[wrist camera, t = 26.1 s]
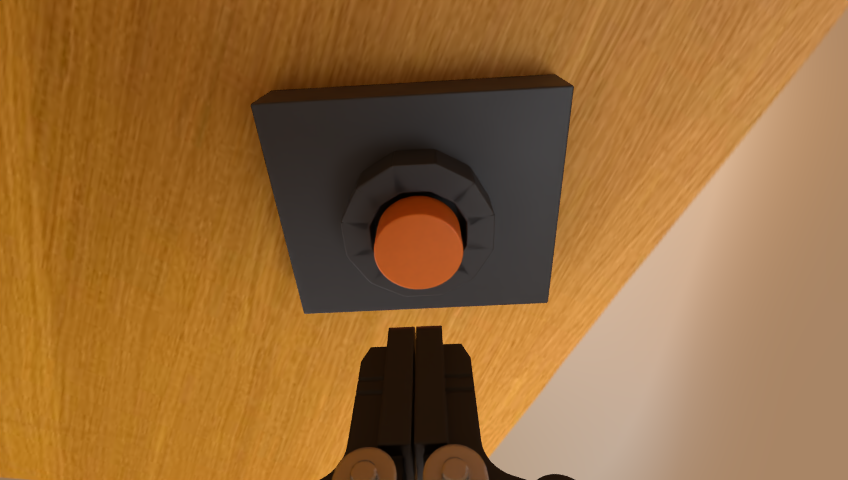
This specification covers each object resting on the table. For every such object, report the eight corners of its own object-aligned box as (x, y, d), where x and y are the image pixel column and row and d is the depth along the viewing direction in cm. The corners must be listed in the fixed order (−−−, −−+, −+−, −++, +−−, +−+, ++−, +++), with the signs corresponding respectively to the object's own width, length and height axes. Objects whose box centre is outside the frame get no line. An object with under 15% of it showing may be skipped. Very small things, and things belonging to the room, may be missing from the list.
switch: (459, 192, 17) (463, 211, 16) (460, 264, 19) (463, 288, 18) (372, 197, 18) (368, 216, 16) (381, 268, 19) (378, 292, 18)
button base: (555, 73, 19) (590, 95, 15) (536, 273, 25) (557, 326, 21) (270, 90, 19) (232, 115, 15) (314, 284, 25) (295, 338, 21)
